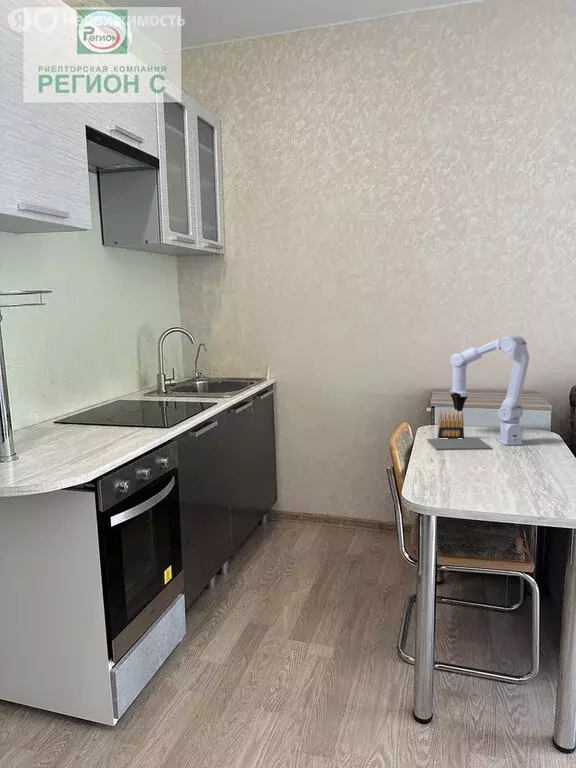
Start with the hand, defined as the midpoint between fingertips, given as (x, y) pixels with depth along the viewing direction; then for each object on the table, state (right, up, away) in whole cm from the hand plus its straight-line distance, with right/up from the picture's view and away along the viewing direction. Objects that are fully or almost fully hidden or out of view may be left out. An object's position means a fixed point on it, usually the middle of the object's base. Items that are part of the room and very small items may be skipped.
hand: (458, 410), depth 241 cm
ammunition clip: (-6, -12, -8) cm, 16 cm away
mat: (-6, -13, -19) cm, 24 cm away
